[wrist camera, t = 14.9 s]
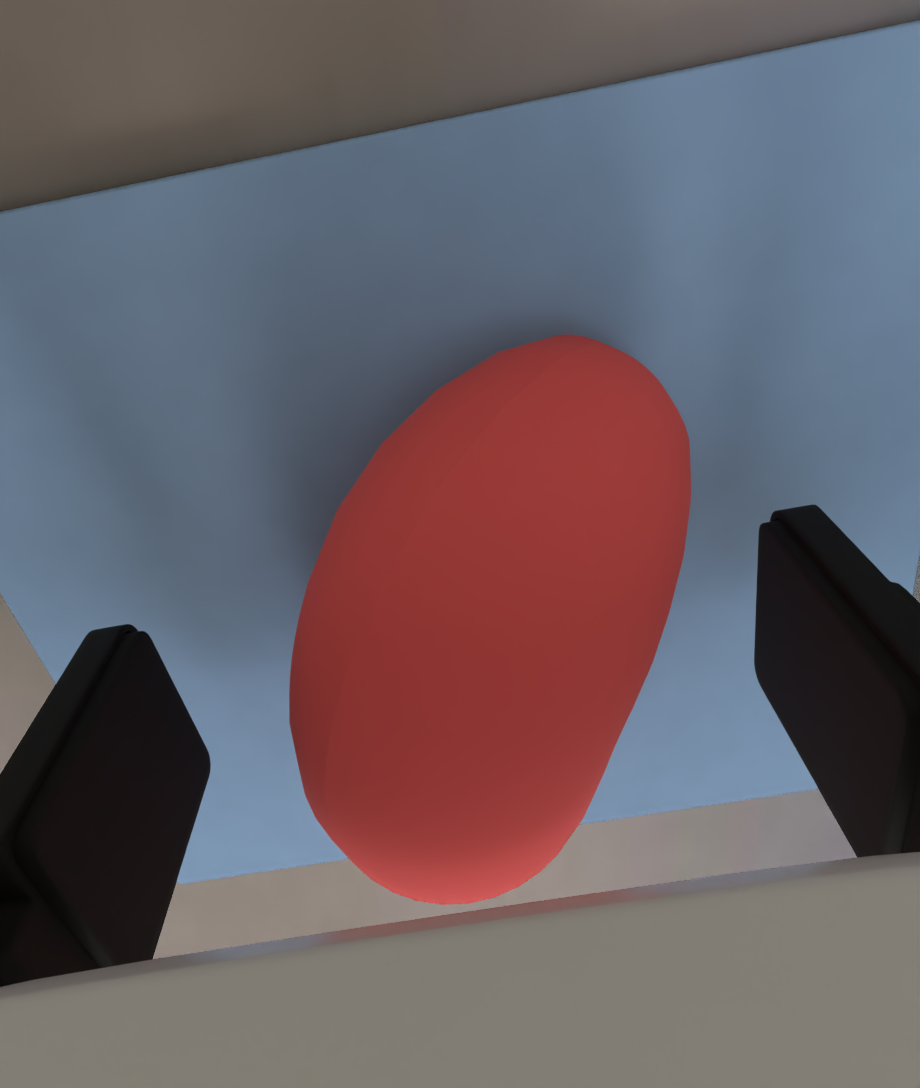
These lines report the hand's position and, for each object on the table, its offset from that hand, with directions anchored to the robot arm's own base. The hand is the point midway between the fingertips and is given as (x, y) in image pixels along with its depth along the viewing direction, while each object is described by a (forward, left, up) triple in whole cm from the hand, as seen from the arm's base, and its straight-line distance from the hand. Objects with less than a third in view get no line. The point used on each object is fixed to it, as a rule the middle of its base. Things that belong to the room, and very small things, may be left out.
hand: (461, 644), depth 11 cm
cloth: (0, 0, -2) cm, 2 cm away
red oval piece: (0, 0, -2) cm, 2 cm away
